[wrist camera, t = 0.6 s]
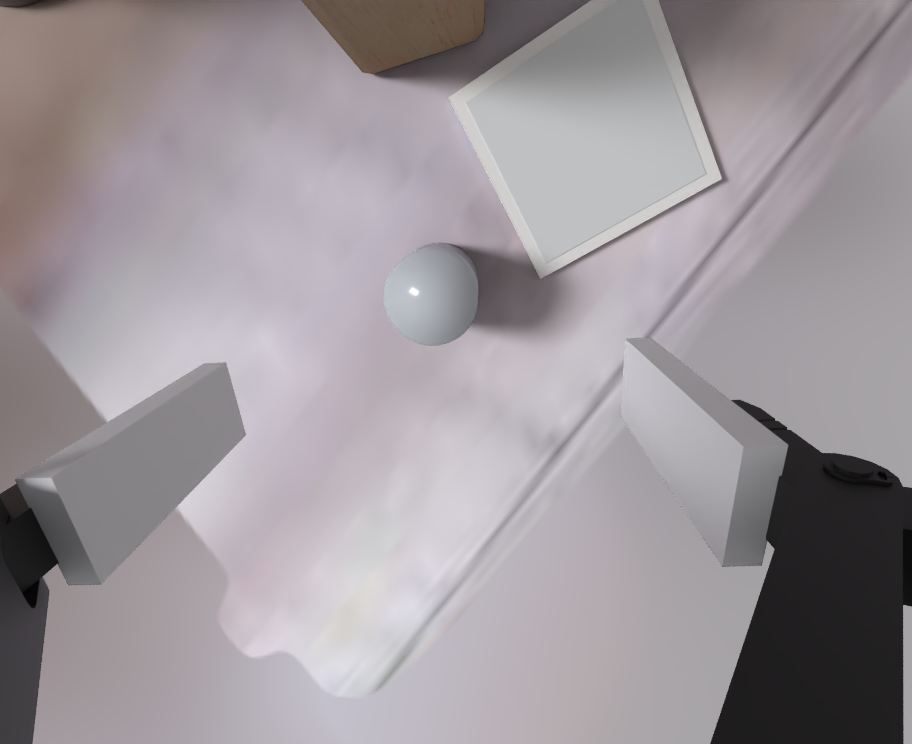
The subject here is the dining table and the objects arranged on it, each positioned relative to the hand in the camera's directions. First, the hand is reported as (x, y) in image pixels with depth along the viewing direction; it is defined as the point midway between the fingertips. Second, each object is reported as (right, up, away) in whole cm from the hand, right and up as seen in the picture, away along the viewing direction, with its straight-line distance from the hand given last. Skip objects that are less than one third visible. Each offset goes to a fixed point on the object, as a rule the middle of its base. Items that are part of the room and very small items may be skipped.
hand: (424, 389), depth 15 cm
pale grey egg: (0, +9, +26) cm, 27 cm away
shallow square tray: (+11, +19, +21) cm, 31 cm away
